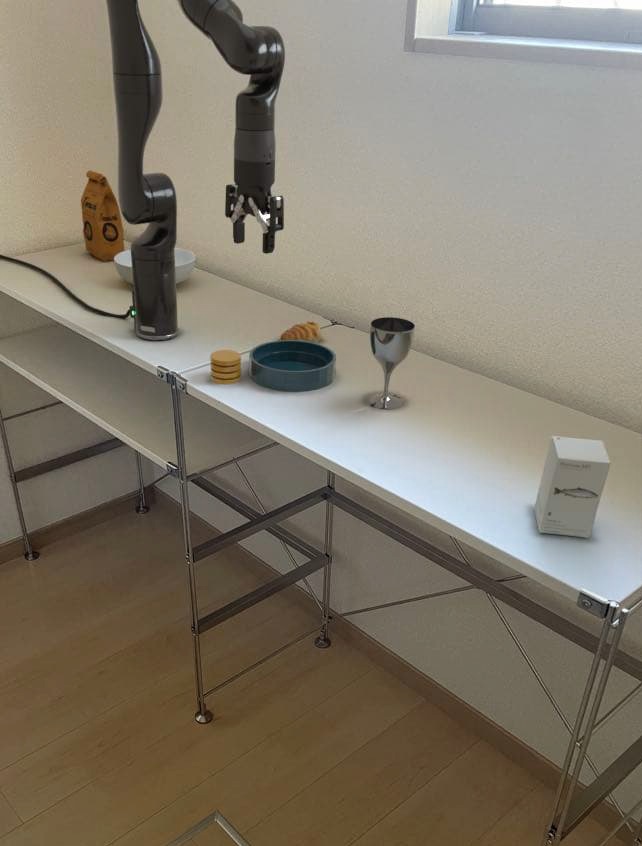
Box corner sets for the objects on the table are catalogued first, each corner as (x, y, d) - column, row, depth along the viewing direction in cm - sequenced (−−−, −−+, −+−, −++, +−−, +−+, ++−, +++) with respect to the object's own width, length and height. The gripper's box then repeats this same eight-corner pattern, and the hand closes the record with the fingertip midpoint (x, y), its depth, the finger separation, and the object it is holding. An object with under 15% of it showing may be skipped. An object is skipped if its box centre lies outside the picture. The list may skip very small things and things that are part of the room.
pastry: (292, 350, 179) (293, 333, 176) (273, 341, 183) (273, 325, 181) (324, 341, 184) (325, 325, 181) (305, 333, 188) (305, 316, 186)
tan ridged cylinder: (204, 379, 164) (204, 354, 161) (227, 372, 168) (227, 347, 165) (223, 389, 161) (223, 363, 158) (247, 381, 164) (247, 356, 161)
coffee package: (96, 263, 230) (88, 178, 218) (82, 252, 239) (73, 170, 227) (130, 259, 234) (124, 176, 222) (114, 248, 243) (108, 168, 231)
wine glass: (378, 412, 153) (386, 334, 145) (356, 396, 159) (362, 320, 151) (413, 405, 156) (423, 328, 148) (390, 389, 162) (398, 315, 154)
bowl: (231, 374, 167) (231, 353, 164) (293, 354, 177) (294, 334, 174) (290, 401, 157) (291, 379, 154) (352, 378, 166) (353, 357, 164)
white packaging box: (537, 534, 120) (556, 457, 113) (533, 508, 126) (550, 433, 119) (590, 540, 119) (612, 462, 112) (583, 513, 125) (603, 438, 118)
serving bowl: (154, 267, 229) (152, 241, 225) (212, 281, 219) (211, 255, 215) (98, 284, 214) (96, 257, 211) (158, 301, 204) (157, 272, 201)
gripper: (213, 151, 151) (215, 242, 161) (264, 164, 143) (263, 259, 152) (245, 148, 156) (244, 237, 165) (296, 160, 147) (292, 253, 156)
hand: (253, 247), depth 158 cm, fingers open, 8 cm apart
